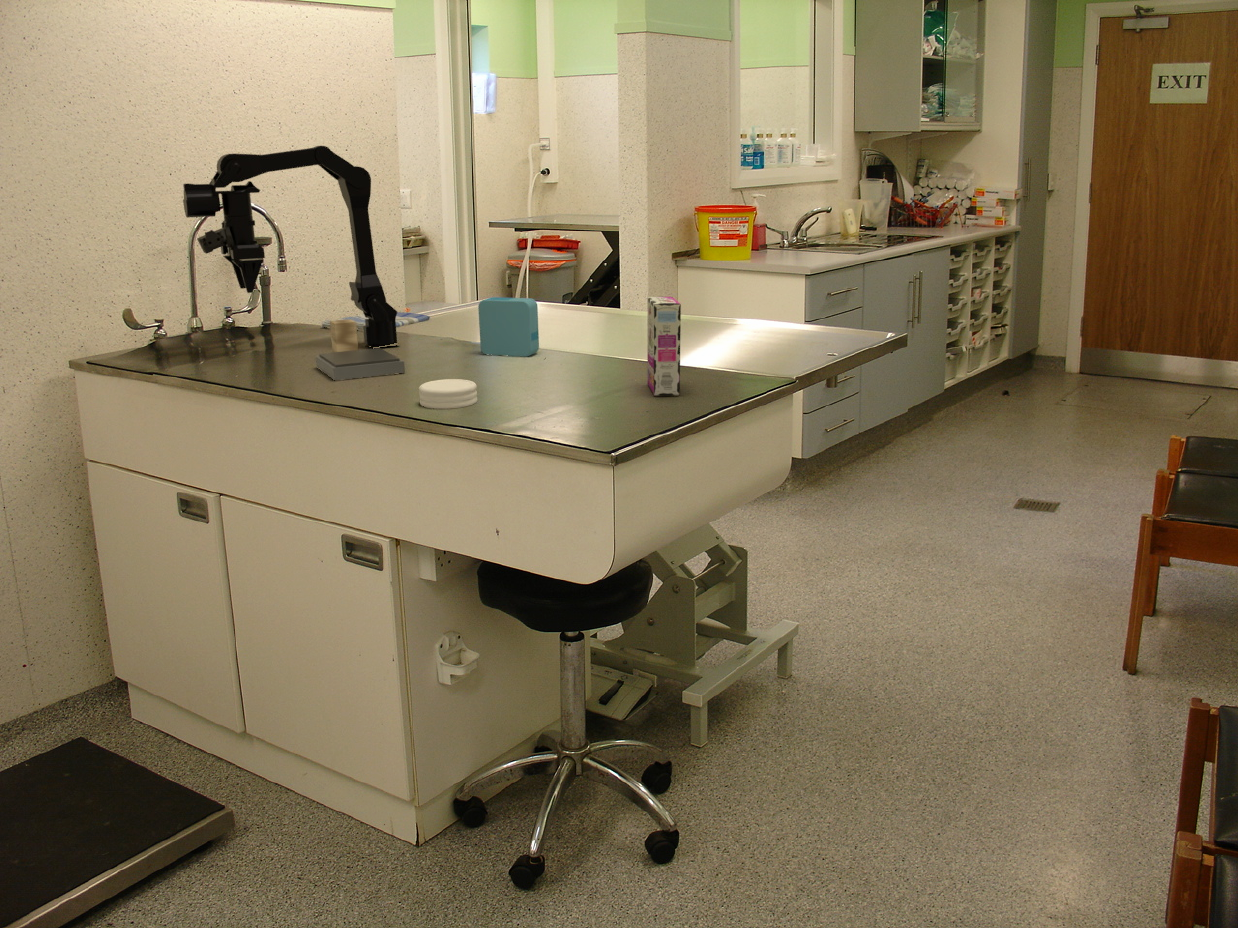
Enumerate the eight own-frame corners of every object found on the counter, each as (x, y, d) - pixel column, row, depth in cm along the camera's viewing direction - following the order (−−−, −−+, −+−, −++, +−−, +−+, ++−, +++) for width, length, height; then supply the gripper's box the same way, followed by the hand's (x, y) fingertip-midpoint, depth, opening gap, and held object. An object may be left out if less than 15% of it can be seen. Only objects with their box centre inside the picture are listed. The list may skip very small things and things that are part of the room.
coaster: (435, 396, 195) (434, 377, 194) (486, 399, 193) (485, 379, 192) (409, 408, 186) (408, 388, 185) (462, 411, 183) (461, 391, 182)
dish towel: (318, 330, 276) (317, 319, 275) (382, 318, 295) (381, 308, 295) (370, 335, 267) (369, 323, 267) (431, 322, 287) (431, 311, 286)
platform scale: (383, 361, 229) (382, 347, 228) (405, 373, 216) (403, 358, 215) (316, 368, 223) (315, 353, 222) (334, 381, 209) (333, 365, 209)
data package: (539, 353, 235) (537, 298, 231) (531, 357, 231) (529, 301, 227) (489, 351, 239) (486, 297, 235) (480, 355, 234) (477, 299, 231)
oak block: (353, 355, 236) (350, 319, 234) (358, 359, 233) (355, 322, 230) (333, 357, 234) (329, 321, 232) (337, 361, 231) (334, 323, 228)
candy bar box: (682, 396, 191) (681, 303, 186) (653, 397, 191) (652, 304, 186) (673, 383, 202) (673, 295, 197) (646, 384, 201) (645, 296, 197)
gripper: (192, 215, 232) (201, 289, 236) (203, 219, 216) (212, 298, 220) (246, 213, 236) (254, 285, 241) (261, 217, 220) (269, 294, 225)
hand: (246, 290), depth 231 cm, fingers open, 9 cm apart
